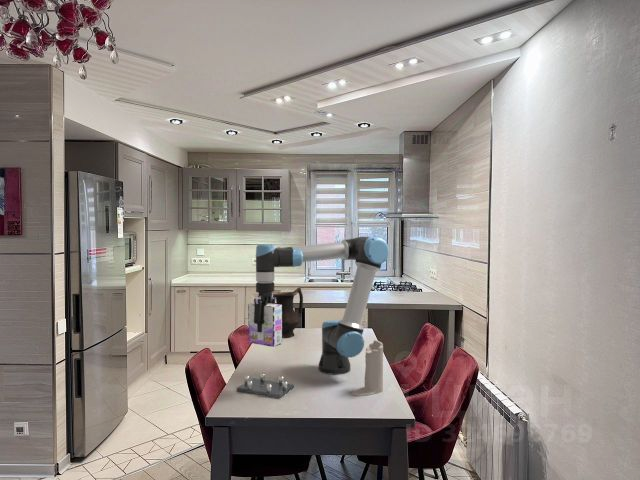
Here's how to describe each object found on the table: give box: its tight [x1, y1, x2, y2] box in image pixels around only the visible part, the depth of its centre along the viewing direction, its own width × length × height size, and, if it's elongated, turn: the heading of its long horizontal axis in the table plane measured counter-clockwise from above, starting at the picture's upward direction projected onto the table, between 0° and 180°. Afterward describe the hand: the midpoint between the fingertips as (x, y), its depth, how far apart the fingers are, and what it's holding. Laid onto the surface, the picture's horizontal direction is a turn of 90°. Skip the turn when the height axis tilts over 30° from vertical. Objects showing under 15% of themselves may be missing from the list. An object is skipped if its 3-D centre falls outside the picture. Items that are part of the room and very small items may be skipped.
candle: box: [351, 339, 384, 397], centre depth 173 cm, size 7×14×20 cm, turn 119°
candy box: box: [247, 302, 283, 348], centre depth 174 cm, size 14×6×16 cm, turn 57°
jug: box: [272, 286, 304, 338], centre depth 264 cm, size 21×18×30 cm
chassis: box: [236, 372, 295, 399], centre depth 175 cm, size 20×12×4 cm, turn 67°
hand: (265, 337), depth 174 cm, fingers closed on candy box, 6 cm apart
